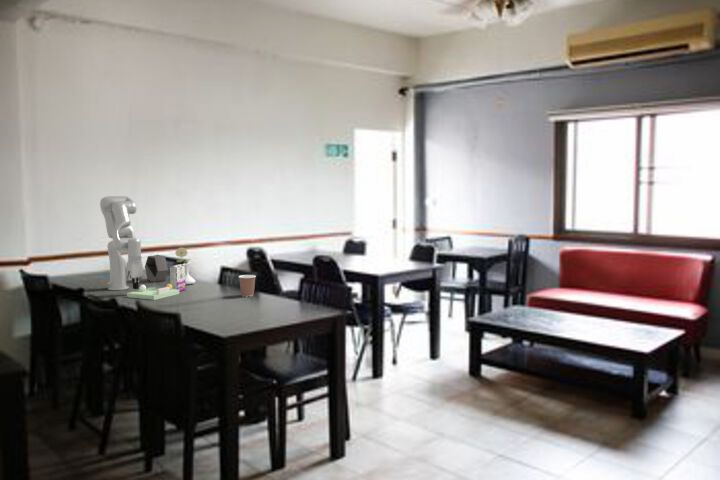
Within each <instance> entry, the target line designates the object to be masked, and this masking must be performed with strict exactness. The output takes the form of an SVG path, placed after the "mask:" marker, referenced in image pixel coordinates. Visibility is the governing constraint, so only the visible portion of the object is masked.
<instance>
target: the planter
mask: <svg viewBox="0 0 720 480" xmlns="http://www.w3.org/2000/svg"><path fill="white" fill-rule="evenodd" d="M144 271H145V274H146V278H147V281H148V280H150V281H149V282H152V281H153V283H156V282H157V283H159V281H160V282H165V281H166V279H167V274H168V272H169V268H168V263H167V259H166V256H164V255H147V258H146V261H145V265H144Z"/></svg>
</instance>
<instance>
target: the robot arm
mask: <svg viewBox="0 0 720 480" xmlns="http://www.w3.org/2000/svg"><path fill="white" fill-rule="evenodd" d="M99 207H100V211H101V213H102V215H103V217H104V221H105V225H106V226H105V227H106V233H107V237H108V238H110V239H111V240H110V241H109V242H108V243H107V248H106V249H107V252H108V253H107V254H108V259H109V260H108V261H109V281H108V282H107V283H106V285H107V286H108V287H107V289H108V290H109V291H122V290H123V291H124V290H127V289H129V288H130V286H129V285H127V280H128V281H131V283H132V289H133V290H140V289H139V287H140V284H139V283H140V280H141V279H143V276H144V265H143V261H142V258H143V257H142V245H141V244H142V242H141V239H139V238H136V237H135V231H134V228H133V226H132V225H131V223H132V221H131V218H130V215H134V214H136V213H137V205H136V203H135V202H134V200H133V199H131V198H130V197H128V196H125V195H124V196H123V195H122V196H121V195H120V196H119V195H118V196H117V195H116V196H115V195H114V196H113V195H111V196H109V195H108V196H104V197H102V198H101V199H100V202H99ZM123 255H127V260H128V261H127V262H126V260H125V258H124V257H123Z"/></svg>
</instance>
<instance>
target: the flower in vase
mask: <svg viewBox="0 0 720 480" xmlns="http://www.w3.org/2000/svg"><path fill="white" fill-rule="evenodd" d="M174 253H175V255H176V256H177V257H179V259H177V260H176V263H182V262H183V263H182V265H185V284H186V285H192V284H195V283H196V280H195V278H193V277H192V276H191V275H190V274H189V267H190V265H191V263H189V261H190V259H191V258H188V259H186V260H185V261H184V259H183V258H184V257H186V256H187V255H188V253H189V252H188V250H187V248H185V247H178V248H177V249H176V250H175V252H174Z"/></svg>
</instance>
